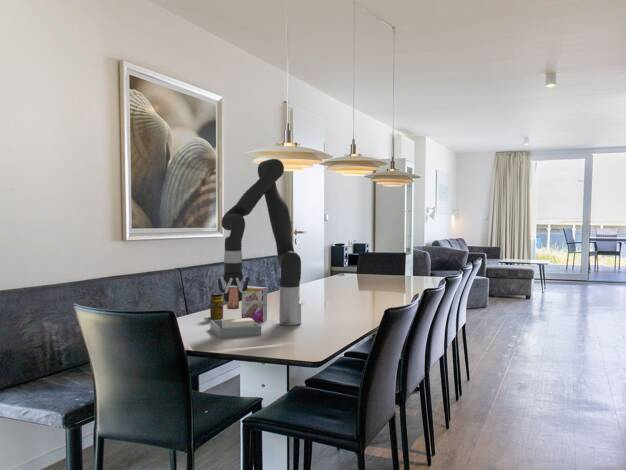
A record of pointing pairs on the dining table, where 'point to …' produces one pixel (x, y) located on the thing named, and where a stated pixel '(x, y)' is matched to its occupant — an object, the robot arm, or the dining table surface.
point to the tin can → (233, 297)
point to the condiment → (216, 307)
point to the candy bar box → (255, 303)
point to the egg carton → (237, 323)
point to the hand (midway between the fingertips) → (233, 301)
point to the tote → (234, 330)
